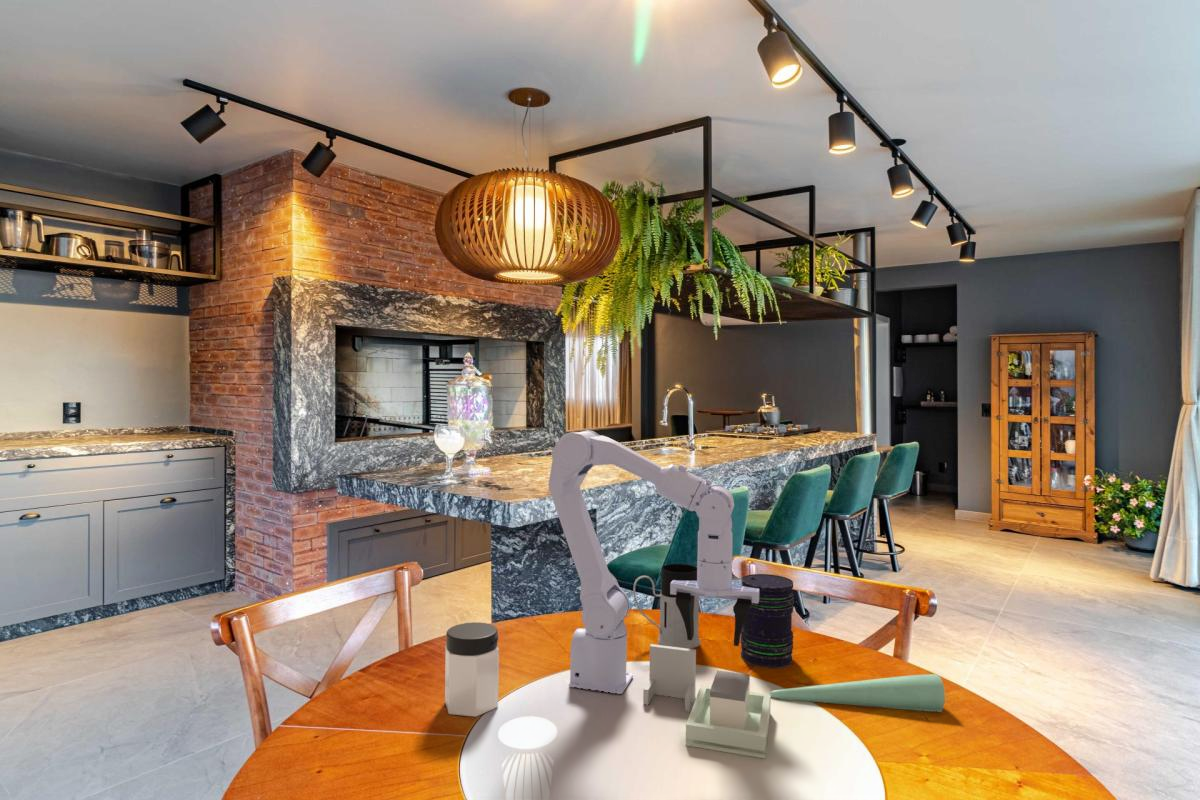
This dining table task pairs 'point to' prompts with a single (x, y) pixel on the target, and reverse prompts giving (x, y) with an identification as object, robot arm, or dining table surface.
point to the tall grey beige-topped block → (730, 700)
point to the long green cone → (876, 693)
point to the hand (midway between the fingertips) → (713, 641)
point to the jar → (471, 669)
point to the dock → (671, 674)
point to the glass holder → (673, 607)
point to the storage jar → (768, 622)
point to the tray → (730, 738)
